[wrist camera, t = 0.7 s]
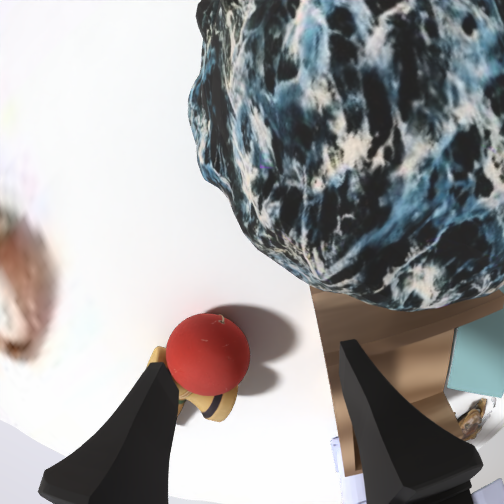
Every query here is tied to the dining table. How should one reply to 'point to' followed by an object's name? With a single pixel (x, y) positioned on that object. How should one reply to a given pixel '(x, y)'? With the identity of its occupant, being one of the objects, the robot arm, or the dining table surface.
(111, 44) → the dining table surface
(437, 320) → the crate
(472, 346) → the lid
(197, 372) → the kendama
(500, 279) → the decorative stone
